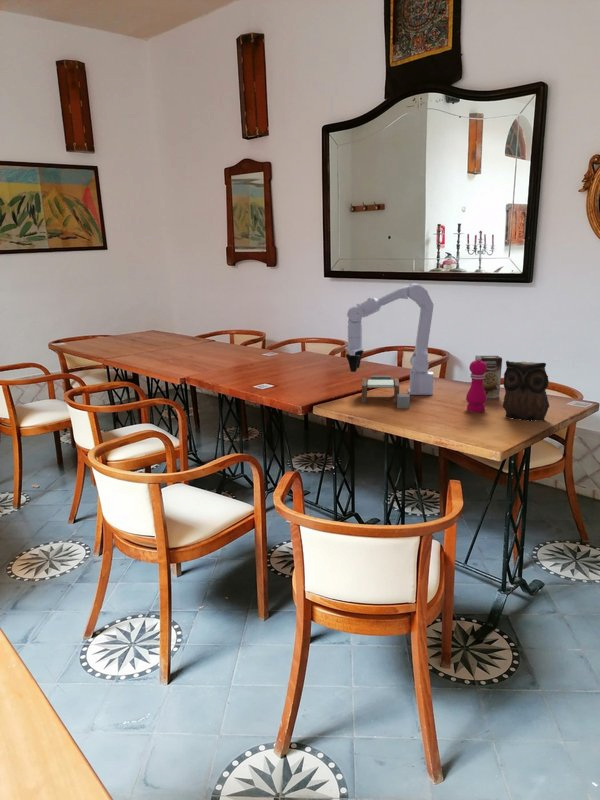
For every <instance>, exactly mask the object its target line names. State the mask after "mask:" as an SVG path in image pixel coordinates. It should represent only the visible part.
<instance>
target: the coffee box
mask: <svg viewBox="0 0 600 800" xmlns="http://www.w3.org/2000/svg"><path fill="white" fill-rule="evenodd" d="M477 356H478V355H475V356H474V357H475V359H474V361H475V360H476V357H477ZM479 356H480V357H481V361H483V362H485V363H486V365H487V370H486V372H485V373H484V374H485V378H484V379H483V388H484V390H485V393H486V396H487V399H493V398H492V397H499V398H500V393H501V381H502V380H501V379H502V368H503V367H502V366H503V357H501V356H499V355H479Z"/></svg>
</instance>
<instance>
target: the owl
mask: <svg viewBox="0 0 600 800" xmlns="http://www.w3.org/2000/svg"><path fill="white" fill-rule="evenodd" d="M505 364H506V365H505V366H506V367H505V368H506V369H505V371H504V374H503V388H504V390H505V391H504V393H505V394H504V397H503V402H502V408H503V409H504V410H505V411H504V412H505V415H504V417H505V416H506V417H505V418H507V419H510V418H513V419H512V420H519V419H521V420H520V421H527V420H529V421H528V422H536V421H535V420H541V421H545V417H546V416H547V413H548V410H549V408H550V403H549V399H548V395H547V391H546V390H547V388H548V387H549V382H550V381H549V376H548V374H547V371H546V366H547V363H546V362H534V361H529V362H528V361H509V360H506V361H505ZM531 420H532V421H531Z"/></svg>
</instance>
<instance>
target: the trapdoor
mask: <svg viewBox="0 0 600 800" xmlns="http://www.w3.org/2000/svg"><path fill="white" fill-rule="evenodd" d="M367 383H368V387H389V388H390V389H394V379H392V377H391V375H370V378H367ZM389 388H388V389H389Z"/></svg>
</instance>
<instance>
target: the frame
mask: <svg viewBox="0 0 600 800" xmlns="http://www.w3.org/2000/svg"><path fill="white" fill-rule="evenodd" d="M399 380H400V379H399V378H398V377H397V378H394V388H393V389H394V390H393V396H394V404H395V403H397V394H400V381H399ZM361 383H362V384H361V404H367V396H368V389H369V388H370V389H371V388H375V389H377V388H378V389H382V388H384V389H386V388H388V389H389V387H368V378H366V377H363V378H362V382H361Z"/></svg>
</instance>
